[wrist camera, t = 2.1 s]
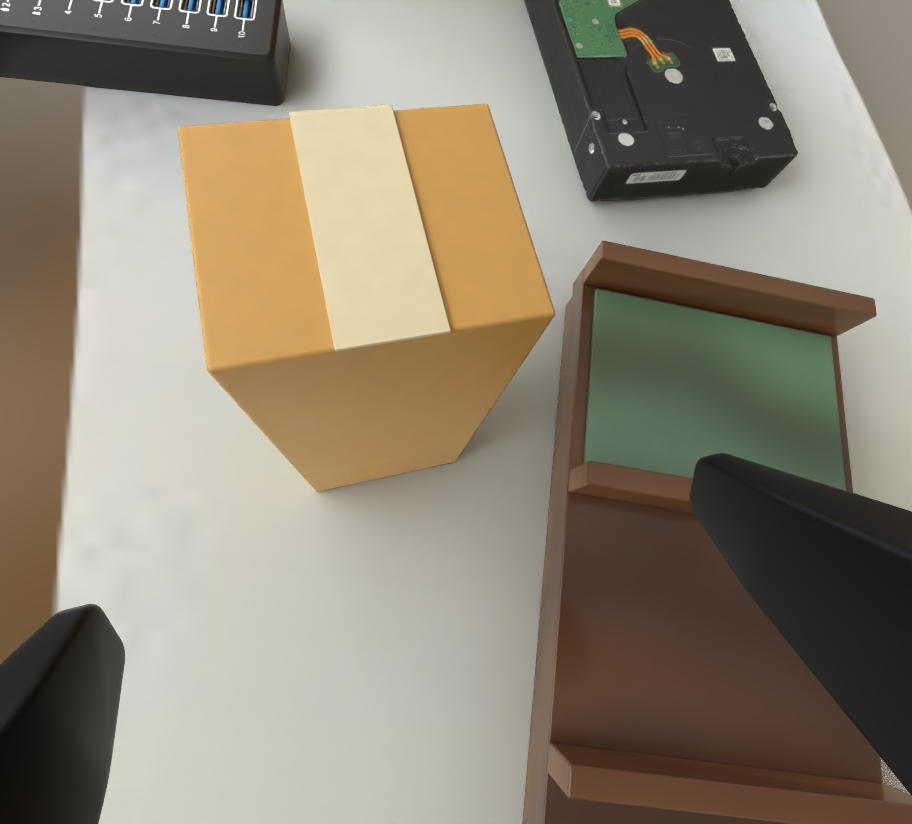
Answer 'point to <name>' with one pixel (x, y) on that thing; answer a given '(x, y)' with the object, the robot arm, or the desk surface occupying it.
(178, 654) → the desk surface
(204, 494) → the desk surface
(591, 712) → the rack
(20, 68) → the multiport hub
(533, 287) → the package
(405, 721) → the desk surface
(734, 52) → the disk drive
